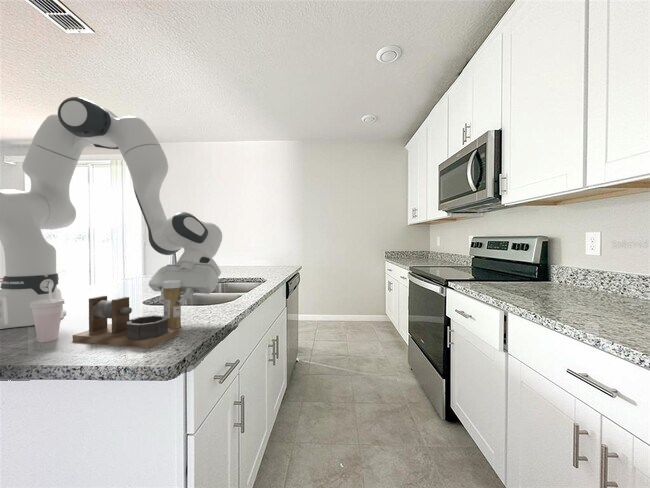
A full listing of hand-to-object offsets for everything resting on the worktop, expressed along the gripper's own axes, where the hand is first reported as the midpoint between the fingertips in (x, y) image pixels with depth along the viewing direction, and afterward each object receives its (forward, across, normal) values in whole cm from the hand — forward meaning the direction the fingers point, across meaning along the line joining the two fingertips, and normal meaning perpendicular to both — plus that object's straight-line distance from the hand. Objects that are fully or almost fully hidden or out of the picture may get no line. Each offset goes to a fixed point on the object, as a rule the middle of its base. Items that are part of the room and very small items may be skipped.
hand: (170, 303), depth 85 cm
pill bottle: (+5, 0, +6) cm, 7 cm away
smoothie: (+16, -23, -5) cm, 28 cm away
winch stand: (+12, -5, -2) cm, 13 cm away
